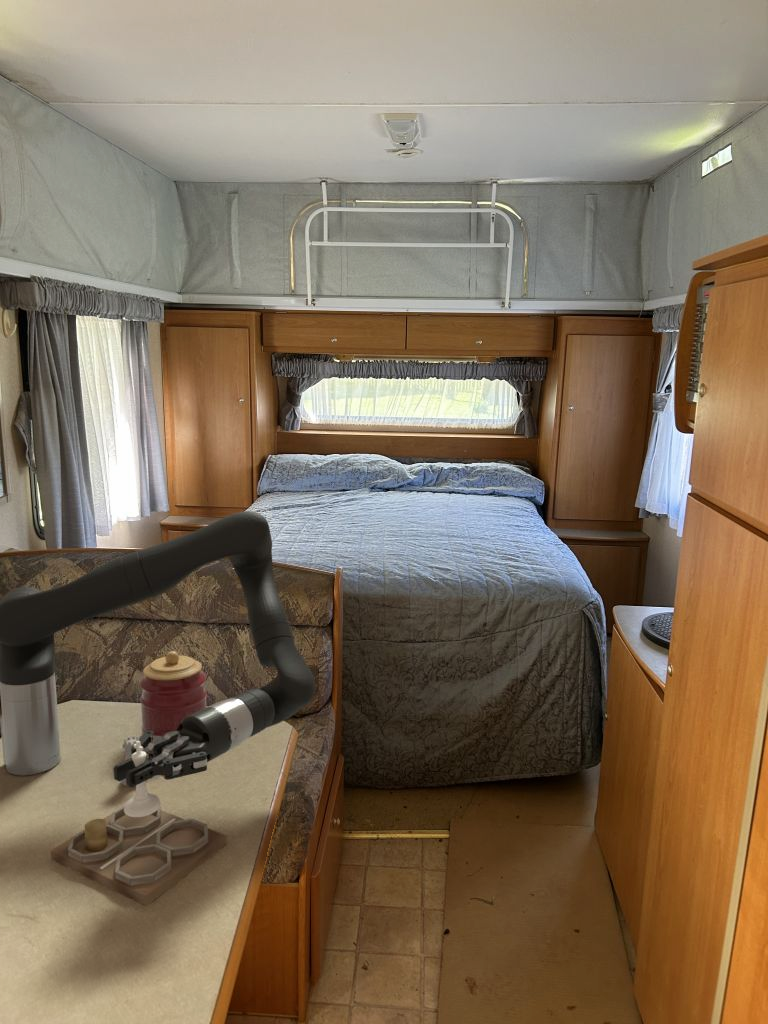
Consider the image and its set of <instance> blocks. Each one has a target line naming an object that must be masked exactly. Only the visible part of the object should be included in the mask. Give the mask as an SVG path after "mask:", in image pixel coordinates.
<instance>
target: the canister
mask: <svg viewBox="0 0 768 1024" xmlns="http://www.w3.org/2000/svg"><path fill="white" fill-rule="evenodd" d="M202 666H203V665H202V663H201V662H200V661H198V660H196V659H194V658H193V657H191V656H186V655H179V653H178V651H175V650H172V651H170V650H169V651H168V652H166V655H165V656H162V657H160V658H156V659H155V660H153V661H152V662H151V663H150V664H148V665H146V666H145V667H144V668H143V670H142V673H143V675H144V676H143V677H141V678H140V680H139V687H140V688H141V690H142V693H141V695H140V698H139V700H140V704H141V706H140V707H141V727H140V728H141V736H142V735H143V734H144V733H145V732H146V731H153V735H154V736H162V735H163V734H165V733H167V732H172V731H175V730H176V729H177V728H178V727H179V725H180V723H181V721H182V720H183V719H184V718H185V717H187V716H189V715H191V714H194V713H196V712H198V711H200V710H202V709H204V708H206V707H208V706H207V695H208V691H207V689H206V688H205V682H206V680H207V674H206V673H205V672H204V671H202V668H203V667H202Z"/></svg>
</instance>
